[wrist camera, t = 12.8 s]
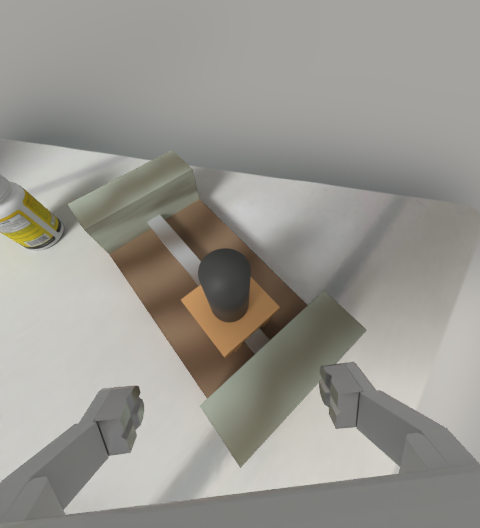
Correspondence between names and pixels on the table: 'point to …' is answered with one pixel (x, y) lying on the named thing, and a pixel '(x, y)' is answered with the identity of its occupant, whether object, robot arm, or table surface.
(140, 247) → the rail board
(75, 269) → the table surface
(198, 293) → the carriage
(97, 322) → the table surface
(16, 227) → the supplement bottle
